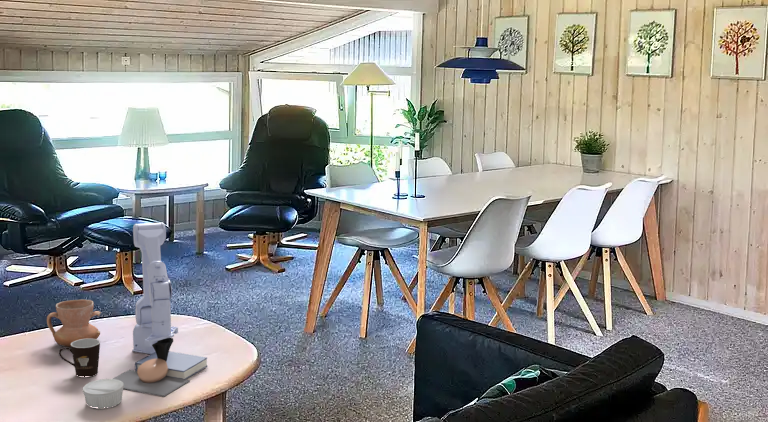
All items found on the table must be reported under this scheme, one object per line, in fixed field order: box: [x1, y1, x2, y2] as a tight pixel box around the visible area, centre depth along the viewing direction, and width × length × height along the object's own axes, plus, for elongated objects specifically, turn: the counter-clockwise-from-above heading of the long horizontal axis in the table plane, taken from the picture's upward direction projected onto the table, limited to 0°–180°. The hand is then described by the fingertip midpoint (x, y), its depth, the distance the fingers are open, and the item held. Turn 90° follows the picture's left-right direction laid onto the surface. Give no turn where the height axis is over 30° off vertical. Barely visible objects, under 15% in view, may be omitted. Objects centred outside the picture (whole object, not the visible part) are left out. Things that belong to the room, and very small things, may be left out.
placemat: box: [112, 369, 190, 397], centre depth 262 cm, size 22×13×1 cm, turn 69°
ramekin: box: [82, 378, 124, 408], centre depth 247 cm, size 11×11×5 cm
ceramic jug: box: [46, 299, 102, 348], centre depth 295 cm, size 18×14×14 cm
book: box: [134, 350, 208, 380], centre depth 274 cm, size 18×13×3 cm
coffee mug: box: [58, 338, 101, 377], centre depth 269 cm, size 12×9×10 cm
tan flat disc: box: [137, 358, 168, 383], centre depth 265 cm, size 9×9×2 cm
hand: (162, 361), depth 269 cm, fingers closed
